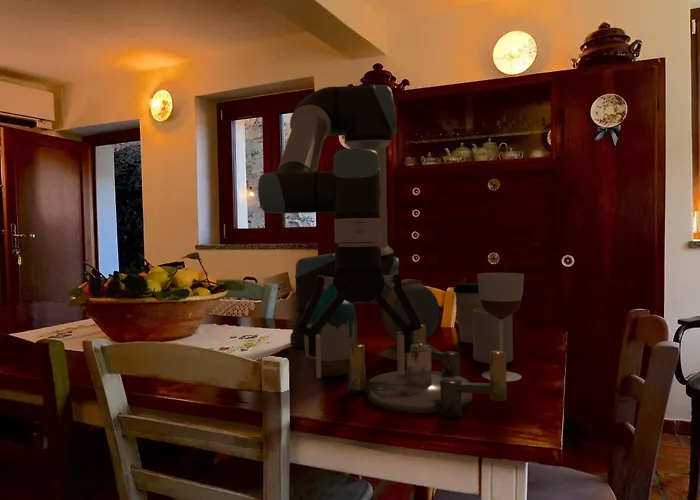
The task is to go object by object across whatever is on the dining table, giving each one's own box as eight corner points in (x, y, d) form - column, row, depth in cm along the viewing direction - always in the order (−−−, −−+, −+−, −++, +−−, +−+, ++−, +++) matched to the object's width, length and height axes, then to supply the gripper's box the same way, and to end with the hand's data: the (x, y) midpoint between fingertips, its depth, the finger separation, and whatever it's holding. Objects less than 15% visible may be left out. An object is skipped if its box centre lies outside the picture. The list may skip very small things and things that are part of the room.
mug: (514, 364, 108) (513, 313, 108) (472, 363, 111) (472, 312, 110) (511, 352, 120) (510, 305, 120) (473, 350, 122) (473, 304, 122)
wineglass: (481, 368, 106) (480, 272, 105) (526, 372, 102) (525, 272, 102) (475, 379, 98) (474, 275, 98) (523, 383, 95) (522, 276, 94)
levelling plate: (346, 398, 88) (345, 345, 88) (406, 375, 102) (405, 329, 101) (436, 421, 76) (435, 360, 76) (490, 392, 90) (489, 340, 90)
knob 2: (440, 417, 77) (439, 353, 77) (440, 409, 81) (440, 348, 80) (507, 420, 76) (507, 355, 75) (505, 412, 79) (504, 350, 78)
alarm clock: (419, 347, 127) (418, 276, 127) (448, 354, 119) (447, 278, 119) (374, 355, 119) (372, 280, 118) (402, 364, 111) (400, 282, 110)
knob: (348, 388, 93) (347, 335, 92) (365, 388, 93) (364, 335, 92) (348, 406, 83) (347, 347, 83) (368, 406, 83) (367, 346, 83)
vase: (368, 374, 103) (366, 279, 102) (330, 386, 95) (328, 284, 95) (332, 365, 110) (330, 277, 110) (294, 376, 103) (292, 281, 102)
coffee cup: (488, 337, 137) (488, 281, 136) (492, 345, 127) (491, 285, 127) (452, 337, 138) (452, 281, 138) (453, 344, 129) (453, 285, 129)
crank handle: (462, 378, 98) (462, 328, 97) (454, 382, 95) (453, 330, 95) (419, 370, 104) (418, 323, 104) (410, 374, 102) (409, 325, 101)
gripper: (279, 247, 79) (282, 383, 79) (438, 244, 81) (440, 377, 81) (282, 246, 86) (285, 370, 87) (428, 243, 88) (429, 365, 89)
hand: (360, 374), depth 84 cm, fingers open, 13 cm apart
